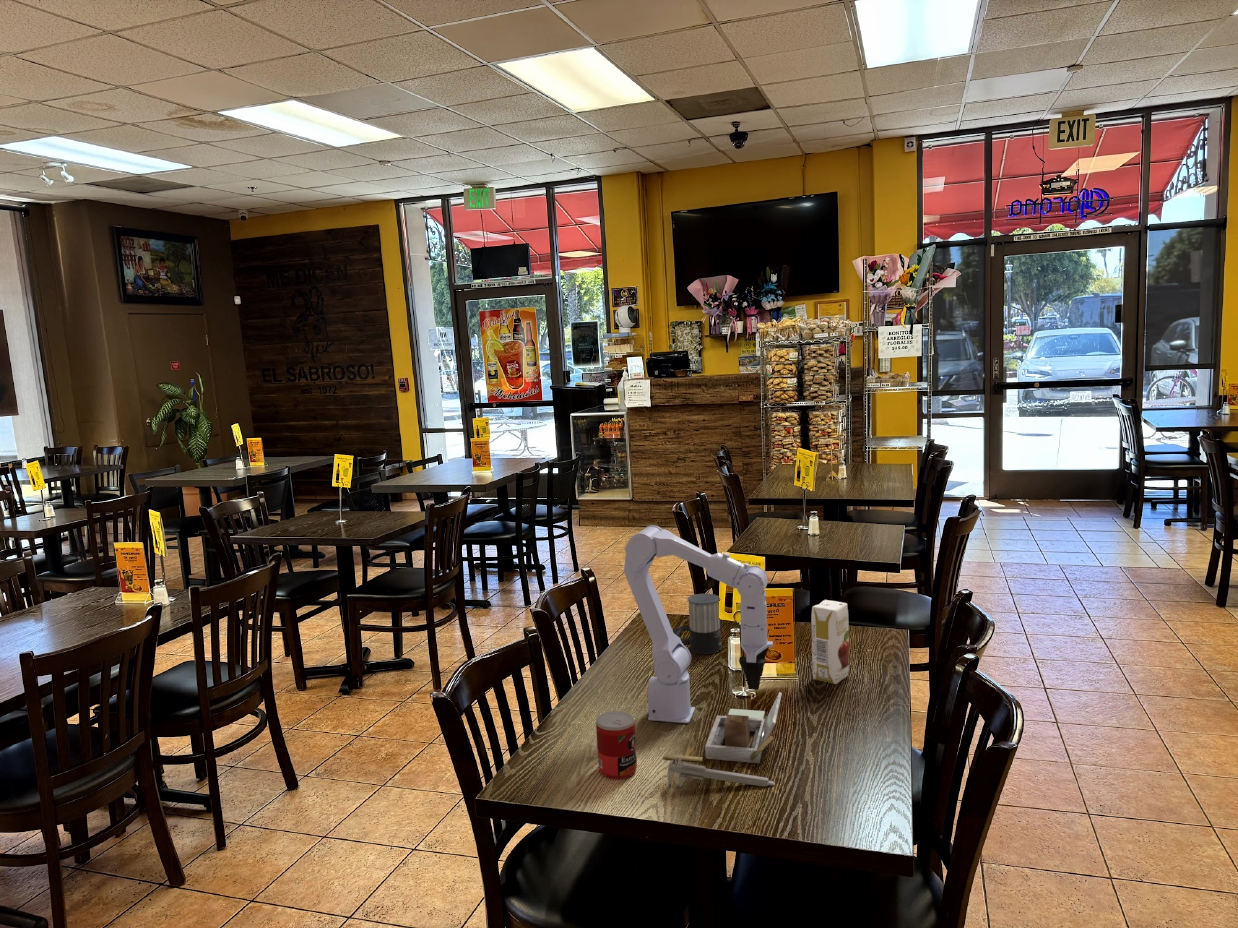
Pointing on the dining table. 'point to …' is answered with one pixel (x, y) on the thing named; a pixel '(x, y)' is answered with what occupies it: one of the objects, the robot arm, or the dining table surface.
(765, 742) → the propped lid
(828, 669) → the juice carton
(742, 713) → the green rubber mat
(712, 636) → the milk frother
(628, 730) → the canned food
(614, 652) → the dining table surface
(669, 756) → the brass bar
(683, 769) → the caliper
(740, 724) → the walnut block
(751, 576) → the robot arm
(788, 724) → the dining table surface
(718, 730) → the aluminium case
